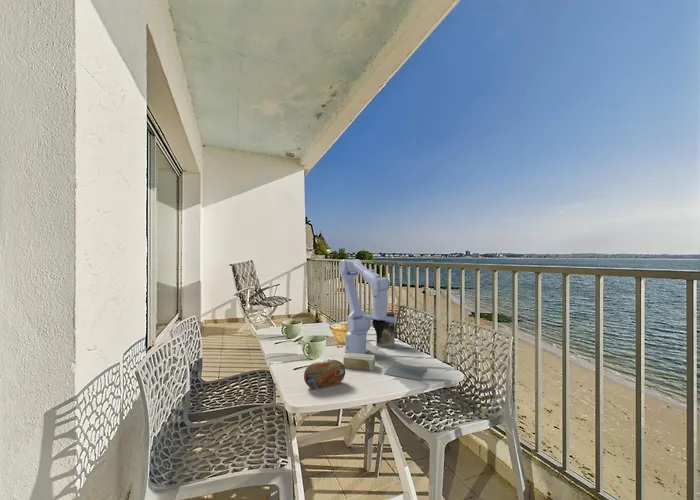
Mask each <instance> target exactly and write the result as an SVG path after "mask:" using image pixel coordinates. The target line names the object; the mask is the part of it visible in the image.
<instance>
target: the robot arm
mask: <svg viewBox="0 0 700 500" xmlns="http://www.w3.org/2000/svg"><path fill="white" fill-rule="evenodd" d="M338 270H339V274H340V277H341V278H342V281H343V286H344V291H345V294H346V298H347V302H348V307H349V312H350V313H349V314H348V315H347V317H346V321H347V325H346V327H347V330H348V331H347V332H346V333H345V339H344V340H345V344H344V345H345V347H344V349H345V350H344V352H345V353H356V354H366V353H368V352H369V351H370V349H369V348H367V333H369V331H370V329H371V326H373V328H374V331H375V334H376V335H377V338H379V339H380V338H381V337H382V332H383V329H384V327H385V325H386V323H387V322H393V323H395V324H396V323H397V322H398V321H397V320H398V318H397V317H390V316H386V312H387V305H388V303H387V301H388V295H387V294H388V293H387V292H388V291H389V290H390V288H391V287H390V285H391V282H390V280H389V278H388V277H386V276H383V277H382V276H381V274H378V273H377V272H376V271H375V269H368V268H366V267H365V265H364V264H363V262H362V260H360V259H358V258H357V259H344V258H343V259H342V258H341V260H340V261H339V263H338ZM359 274H360V276H362V279H363V280H364V281H365V282H366V283H367V284H368V285H370V289H371V294H372V305H373V306H372V314H369V313H368V314H367V313H366V312H365V311H363V310H362V307H361V303H360V299H359V295H358V292H357V287H356V284H355V279H356V278H358V276H359ZM371 321H372V322H371ZM371 323H372V325H371ZM376 335H375V336H376Z"/></svg>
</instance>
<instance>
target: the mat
mask: <svg viewBox="0 0 700 500" xmlns="http://www.w3.org/2000/svg"><path fill="white" fill-rule="evenodd" d="M427 370H428V368H427V367H424V366H423V367H421V366H416V365H409V364H403V363H398V362H392V363H391V365H390V366H389V367H388V368H387V369H386V371H385V372H384V374H383V375H385V376H389V377H390V376H391V377H396V378H401V379H402V378H403V379H407V380H413V381H419V382H421V381H422V380H423V377H424V376H425V373H426V371H427Z"/></svg>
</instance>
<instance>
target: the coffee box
mask: <svg viewBox="0 0 700 500" xmlns="http://www.w3.org/2000/svg"><path fill="white" fill-rule="evenodd" d="M395 314H396V313H395V312H394V311H386V316H390V317H395ZM395 324H396V323H393V322H387V323H386V325H385V327H384V329H383V332H382V337H381V338H380V339H379V338H377V335H375V336H376V343H375V346H376V347H393V346H394V347H395V328H396V327H395V326H396V325H395Z"/></svg>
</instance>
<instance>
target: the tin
mask: <svg viewBox="0 0 700 500" xmlns="http://www.w3.org/2000/svg"><path fill="white" fill-rule="evenodd" d="M345 376H346V368H345V367H344V365H343V362H341V361H339V360H336V359H330V360H323V361H318V362H313V363H311V364H309V365H308V366H307V367H306V368H305V370H304V374H303V380H304V383H305V384H306V385H307V386H308V387H309V389H312V390H319V389H324V388H327V387H332V386H336V385H339V384H340V383H341V382H342V381H344V378H345ZM323 387H324V388H323ZM318 388H319V389H318Z"/></svg>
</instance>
